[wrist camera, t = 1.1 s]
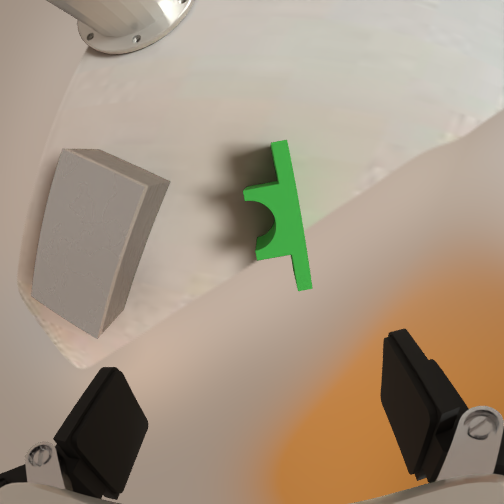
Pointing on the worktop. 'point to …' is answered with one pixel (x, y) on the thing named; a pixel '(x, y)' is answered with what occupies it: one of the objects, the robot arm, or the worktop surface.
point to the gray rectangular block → (94, 236)
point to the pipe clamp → (282, 217)
